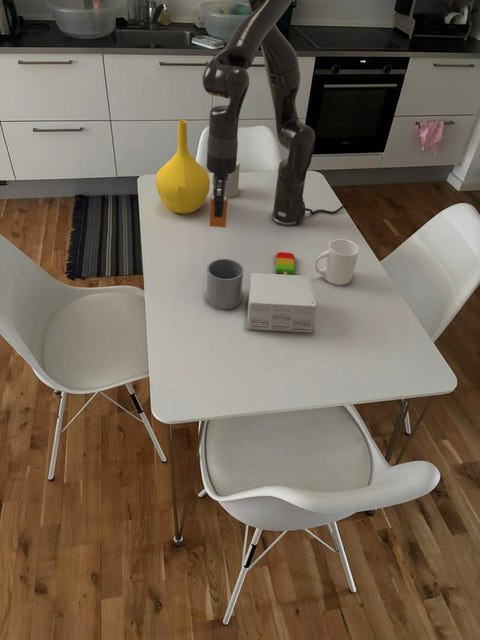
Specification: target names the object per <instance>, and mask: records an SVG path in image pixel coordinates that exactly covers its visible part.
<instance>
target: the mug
mask: <svg viewBox="0 0 480 640" xmlns="http://www.w3.org/2000/svg"><path fill="white" fill-rule="evenodd" d="M359 252H360V248H359V246H358V245H357V244H356V243H355V242H353V241H350V240H348V239H344V238H338V239H333V240H331V241H330V242H329V243H328V248H327V250H326V251H325V250H324V252H321V253H320V254H319V255H318V256H317V258H316V260H315V263H314V268H315V271H316V272H317V273H318V274H319V275H323V277H324V279H325V280H326V281H327V282H328V283H330V284H333V285H337V286H343V285H344V286H345V285H347V284H349V283H350V282H351V281H352V278H353V274H354V272H355V267H356V263H357V260H358V256H359ZM324 258H325V263H324V267H323V268H318V267H317V264H318V262H319V261H320V260H321V259H324Z"/></svg>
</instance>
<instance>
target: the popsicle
mask: <svg viewBox="0 0 480 640" xmlns="http://www.w3.org/2000/svg"><path fill="white" fill-rule="evenodd" d="M275 258H276V260H275V272H276V273H275V274H283V275H295V273H296V272H295V271H296V269H295V255H294V253H293V252H283V251H278V252H277V253H276V256H275Z"/></svg>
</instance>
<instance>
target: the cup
mask: <svg viewBox="0 0 480 640" xmlns="http://www.w3.org/2000/svg"><path fill="white" fill-rule="evenodd" d="M240 167H241V161H240V160H239V159H238V158H237V161H236V170H235V171H234V172H233V173H231V174H228V175H229V177H228V185H227V190H226V194H227V195H228V199H230V198H231V199H232V198H234V197H237V196H238V194H239V183H240Z"/></svg>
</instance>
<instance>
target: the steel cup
mask: <svg viewBox="0 0 480 640" xmlns="http://www.w3.org/2000/svg"><path fill="white" fill-rule="evenodd" d="M243 281H244V267H243V265H242V264H241V263H239V261H236V260H233V259H229V258H219V259H215V260H212V261H211V262H210V263H209V264H208V265H207V269H206V302H207V303H208V304H209V305H210V306H211V307H213V308H215V309H218V310H232V309H235V308H236V307H238V306H239V305H240V304H241V302H242V292H243V283H244V282H243Z"/></svg>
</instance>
